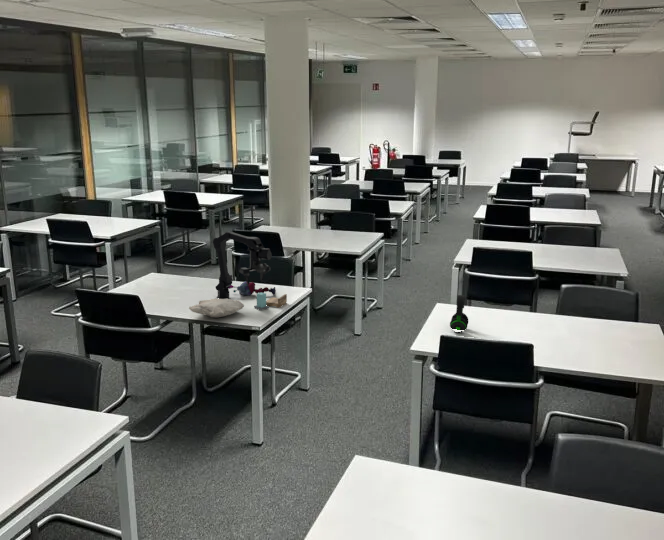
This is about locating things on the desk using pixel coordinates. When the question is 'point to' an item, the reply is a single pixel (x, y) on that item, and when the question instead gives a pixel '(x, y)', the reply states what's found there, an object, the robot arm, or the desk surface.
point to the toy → (251, 289)
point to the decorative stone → (217, 307)
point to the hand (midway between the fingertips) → (255, 282)
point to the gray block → (261, 308)
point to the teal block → (261, 299)
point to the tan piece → (277, 301)
